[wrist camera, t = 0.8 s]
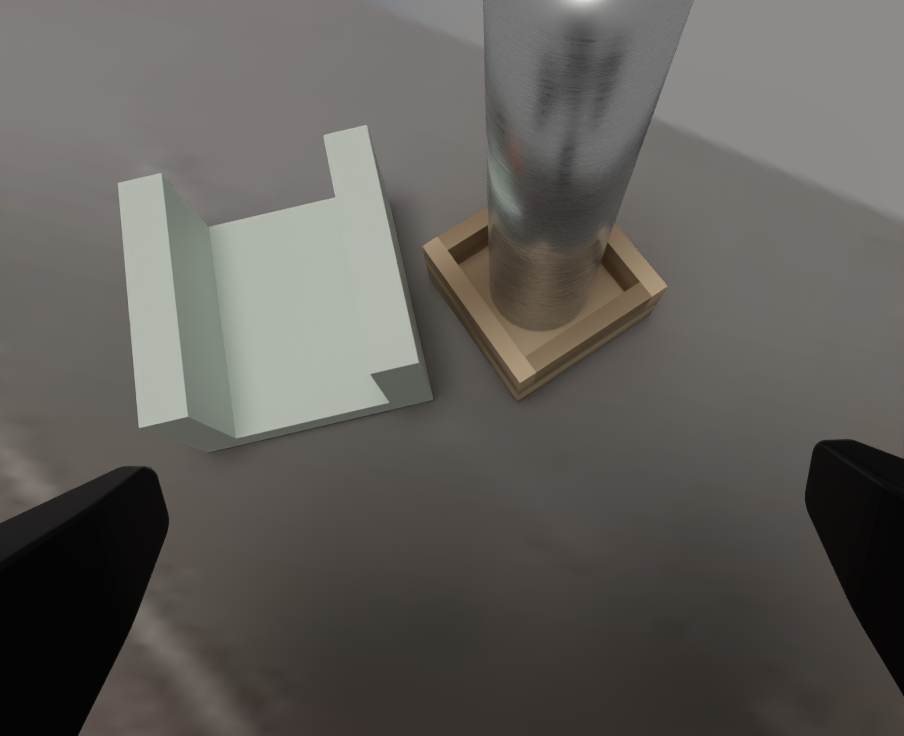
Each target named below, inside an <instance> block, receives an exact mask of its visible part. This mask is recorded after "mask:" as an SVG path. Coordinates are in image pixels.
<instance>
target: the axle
mask: <svg viewBox="0 0 904 736" xmlns="http://www.w3.org/2000/svg"><path fill="white" fill-rule="evenodd" d="M693 1H694V0H483V12H484V59H485V105H486V150H487V196H488V242H489V288H490V295H491V298H492V301H493V303H494V305H495V307H496V309H497V310H498V311H499V313H500V314H501V315H502V316H503V317H504V318H505V319H506V320H507V321H509V322H510V323H512V324H514V325H515V326H517V327H520V328H523V329H526V330H530V331H549V330H554V329H557V328H560V327H562V326H564V325H566V324H568V323H569V322H571V321H572V320H573V319H574V318H575V317H576V316H577V315H578V314H579V313H580V312H581V310H582V309H583V307H584V305H585V303H586V301H587V298H588V296H589V293H590V290H591V287H592V284H593V282H594V279H595V276H596V273H597V270H598V268H599V265H600V262H601V259H602V256H603V253H604V251H605V248H606V245H607V242H608V239H609V237H610V234H611V231H612V228H613V225H614V223H615V220H616V217H617V214H618V211H619V209H620V206H621V203H622V200H623V197H624V195H625V192H626V189H627V186H628V183H629V181H630V178H631V175H632V172H633V169H634V167H635V164H636V161H637V158H638V155H639V152H640V150H641V147H642V144H643V141H644V138H645V136H646V133H647V130H648V127H649V124H650V122H651V119H652V116H653V113H654V110H655V108H656V105H657V102H658V99H659V96H660V94H661V91H662V88H663V85H664V82H665V80H666V77H667V74H668V71H669V68H670V65H671V63H672V60H673V57H674V54H675V51H676V49H677V46H678V43H679V40H680V37H681V35H682V32H683V29H684V26H685V23H686V21H687V18H688V15H689V12H690V9H691V7H692V4H693Z"/></svg>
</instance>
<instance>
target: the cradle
mask: <svg viewBox="0 0 904 736" xmlns="http://www.w3.org/2000/svg"><path fill="white" fill-rule="evenodd" d="M323 136H324V142H325V147H326V152H327V157H328V162H329V167H330V172H331V177H332V182H333V188H334V193H335V198H331V199H326V200H322V201H318V202H314V203H309V204H305V205H301V206H297V207H292V208H288V209H284V210H279V211H275V212H271V213H267V214H262V215H258V216H254V217H249V218H245V219H241V220H237V221H232V222H228V223H224V224H220V225H215V226H211V227H208V226H207V225H206V223H205V222H204V221H203V220H202V219H201V218H200V217H199V215H198V214H197V213H196V212H195V211H194V210H193V208H192V207H191V206H190V205H189V204H188V203H187V202H186V200H185V199H184V198H183V197H182V196H181V195H180V194H179V192H178V191H177V190H176V189H175V188H174V187H173V185H172V184H171V183H170V182H169V181H168V180H167V179H166V177H165V176H164V175H163V174H162V173H159V174H155V175H150V176H146V177H142V178H138V179H133V180H129V181H125V182H120V183H118V189H119V200H120V212H121V224H122V235H123V247H124V259H125V270H126V282H127V294H128V305H129V317H130V329H131V340H132V352H133V364H134V375H135V387H136V399H137V410H138V422H139V428H140V429H143V430H146V431H148V432H151V433H154V434H157V435H159V436H162V437H165V438H168V439H170V440H173V441H176V442H179V443H182V444H184V445H187V446H190V447H193V448H195V449H198V450H201V451H204V452H206V453H209V452H213V451H218V450H222V449H226V448H230V447H235V446H239V445H243V444H247V443H252V442H256V441H260V440H265V439H269V438H273V437H277V436H282V435H286V434H290V433H294V432H299V431H303V430H307V429H311V428H316V427H320V426H324V425H329V424H333V423H337V422H341V421H346V420H350V419H354V418H358V417H363V416H367V415H371V414H376V413H380V412H384V411H388V410H393V409H397V408H401V407H405V406H410V405H414V404H418V403H423V402H427V401H431V400H434V399H433V395H432V390H431V386H430V381H429V377H428V372H427V368H426V363H425V359H424V354H423V350H422V345H421V341H420V336H419V332H418V327H417V323H416V318H415V314H414V310H413V305H412V301H411V296H410V292H409V287H408V283H407V278H406V274H405V269H404V265H403V260H402V256H401V251H400V247H399V242H398V238H397V233H396V229H395V224H394V220H393V215H392V211H391V206H390V202H389V198H388V195H387V191H386V188H385V184H384V181H383V178H382V174H381V171H380V168H379V164H378V161H377V158H376V154H375V151H374V148H373V144H372V141H371V138H370V134H369V131H368V127H367V125H365V126H360V127H356V128H352V129H347V130H343V131H339V132H335V133H330V134H326V135H323Z"/></svg>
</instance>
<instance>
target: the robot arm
mask: <svg viewBox="0 0 904 736" xmlns="http://www.w3.org/2000/svg"><path fill="white" fill-rule="evenodd" d="M805 503H806V508H807V511H808V514H809V516H810V518H811V520H812V522H813V525H814V527H815V529H816V531H817V533H818V536H819V538H820V540H821V542H822V544H823V547H824V549H825V551H826V553H827V555H828V558H829V560H830V562H831V564H832V566H833V569H834V571H835V573H836V575H837V577H838V580H839V582H840V584H841V586H842V588H843V590H844V593H845V595H846V597H847V599H848V601H849V603H850V605H851V607H852V609H853V611H854V613H855V614H856V616H857V618H858V620H859V621H860V623H861V625H862V627H863V629H864V630H865V632H866V634H867V635H868V637H869V639H870V640H871V642H872V644H873V645H874V647H875V649H876V650H877V652H878V654H879V655H880V657H881V659H882V660H883V662H884V664H885V665H886V667H887V669H888V671H889V672H890V674H891V676H892V677H893V679H894V681H895V682H896V684H897V686H898V687H899V689H900V691H901V692H902V694H903V696H904V459H903V458H900V457H897V456H895V455H892V454H889V453H887V452H884V451H882V450H879V449H876V448H874V447H871V446H868V445H866V444H863V443H860V442H858V441H855V440H851V439H837V440H822V441H820V442H818V443H817V444H816V445H815V447H814V449H813V452H812V457H811V463H810V468H809V474H808V479H807V485H806V490H805ZM168 526H169V516H168V511H167V507H166V504H165V500H164V497H163V493H162V490H161V486H160V483H159V479H158V476H157V474H156V472H155V470H154V469H153V468H151V467H150V466H123V467H119V468H117V469H115V470H113V471H110V472H108V473H106V474H104V475H102V476H100V477H98V478H96V479H93V480H91V481H89V482H87V483H85V484H83V485H81V486H79V487H76V488H74V489H72V490H70V491H68V492H66V493H64V494H62V495H59V496H57V497H55V498H53V499H51V500H49V501H47V502H45V503H42V504H40V505H38V506H36V507H34V508H32V509H30V510H28V511H25V512H23V513H21V514H19V515H17V516H15V517H13V518H11V519H8V520H6V521H4V522H2V523H0V736H78V734H79V732H80V730H81V728H82V726H83V724H84V722H85V720H86V718H87V716H88V714H89V712H90V710H91V708H92V706H93V704H94V702H95V700H96V698H97V696H98V694H99V692H100V690H101V688H102V686H103V684H104V682H105V680H106V678H107V676H108V674H109V672H110V670H111V668H112V666H113V664H114V662H115V660H116V658H117V656H118V654H119V652H120V650H121V648H122V646H123V644H124V642H125V640H126V638H127V636H128V633H129V631H130V629H131V627H132V625H133V622H134V620H135V617H136V615H137V612H138V610H139V607H140V604H141V602H142V599H143V596H144V594H145V591H146V588H147V586H148V583H149V580H150V578H151V575H152V572H153V570H154V567H155V564H156V561H157V559H158V556H159V553H160V551H161V548H162V545H163V543H164V540H165V537H166V535H167V531H168Z"/></svg>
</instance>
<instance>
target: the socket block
mask: <svg viewBox="0 0 904 736" xmlns="http://www.w3.org/2000/svg"><path fill="white" fill-rule="evenodd" d="M422 248H423V252H424V256H425V260H426V265H427V269H428V273H429V277H430V279H431V280H432V282H433V283H434V284H435V286H436V287H437V289H438V290H439V292H440V293H441V294H442V296H443V297H444V299H445V300H446V301H447V303H448V304H449V306H450V307H451V309H452V310H453V311H454V313H455V314H456V316H457V317H458V318H459V320H460V321H461V323H462V324H463V326H464V327H465V328H466V330H467V331H468V333H469V334H470V335H471V337H472V338H473V340H474V341H475V343H476V344H477V345H478V347H479V348H480V350H481V351H482V352H483V354H484V355H485V357H486V358H487V360H488V361H489V362H490V364H491V365H492V367H493V368H494V369H495V371H496V372H497V374H498V375H499V377H500V378H501V379H502V381H503V382H504V384H505V385H506V386H507V388H508V389H509V391H510V392H511V394H512V395H513V396H514V398H515V399H516V401H517V402H518V401H519V400H521V399H522V398H524V397H525V396H527V395H528V394H530V393H531V392H533V391H534V390H536V389H537V388H539V387H541V386H542V385H544V384H545V383H547V382H548V381H550V380H551V379H553V378H554V377H556V376H557V375H559V374H560V373H562V372H563V371H565V370H566V369H568V368H569V367H571V366H572V365H574V364H575V363H577V362H578V361H580V360H582V359H583V358H585V357H586V356H588V355H589V354H591V353H592V352H594V351H595V350H597V349H598V348H600V347H601V346H603V345H604V344H606V343H607V342H609V341H610V340H612V339H613V338H615V337H616V336H618V335H619V334H621V333H623V332H624V331H626V330H627V329H629V328H630V327H632V326H633V325H635V324H636V323H638V322H639V321H641V320H642V319H644V318H645V317H647V316H648V315H650V313H651V312H652V310H653V308H654V307H655V305H656V304H657V302H658V301H659V299H660V297H661V296H662V294H663V293H664V291H665V290H666V288H667V285H666V284H665V283H664V281H663V280H662V279H661V278H660V277H659V275H658V274H657V273H656V272H655V271H654V269H653V268H652V267H651V266H650V265H649V263H648V262H647V261H646V260H645V259H644V257H643V256H642V255H641V254H640V253H639V251H638V250H637V249H636V248H635V246H634V245H633V244H632V243H631V242H630V240H629V239H628V238H627V237H626V236H625V234H624V233H623V232H622V231H621V230H620V228H619V227H618V226H617V225H616V224H615V223H614V225H613V228H612V231H611V234H610V237H609V239H608V242H607V245H606V248H605V251H604V253H603V256H602V259H601V262H600V265H599V268H598V270H597V273H596V276H595V279H594V282H593V284H592V287H591V290H590V293H589V296H588V298H587V301H586V303H585V305H584V307H583V309H582V310H581V312H580V313H579V314H578V315H577V316H576V317H575V318H574V319H573V320H572V321H571V322H569V323H568V324H566V325H564V326H562V327H560V328H557V329H554V330H549V331H530V330H526V329H523V328H520V327H517V326H515V325H514V324H512V323H510V322H509V321H507V320H506V319H505V318H504V317H503V316H502V315H501V314H500V313H499V311H498V310H497V309H496V307H495V305H494V303H493V301H492V298H491V295H490V288H489V242H488V206H486V207H484V208H483V209H481V210H480V211H478V212H476V213H475V214H473V215H472V216H470V217H468V218H467V219H465V220H463V221H462V222H460V223H459V224H457V225H455V226H454V227H452V228H451V229H449V230H447V231H446V232H444V233H442V234H441V235H439V236H438V237H436V238H434V239H433V240H431V241H429V242H428V243H426V244H425V245H423V246H422Z"/></svg>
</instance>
